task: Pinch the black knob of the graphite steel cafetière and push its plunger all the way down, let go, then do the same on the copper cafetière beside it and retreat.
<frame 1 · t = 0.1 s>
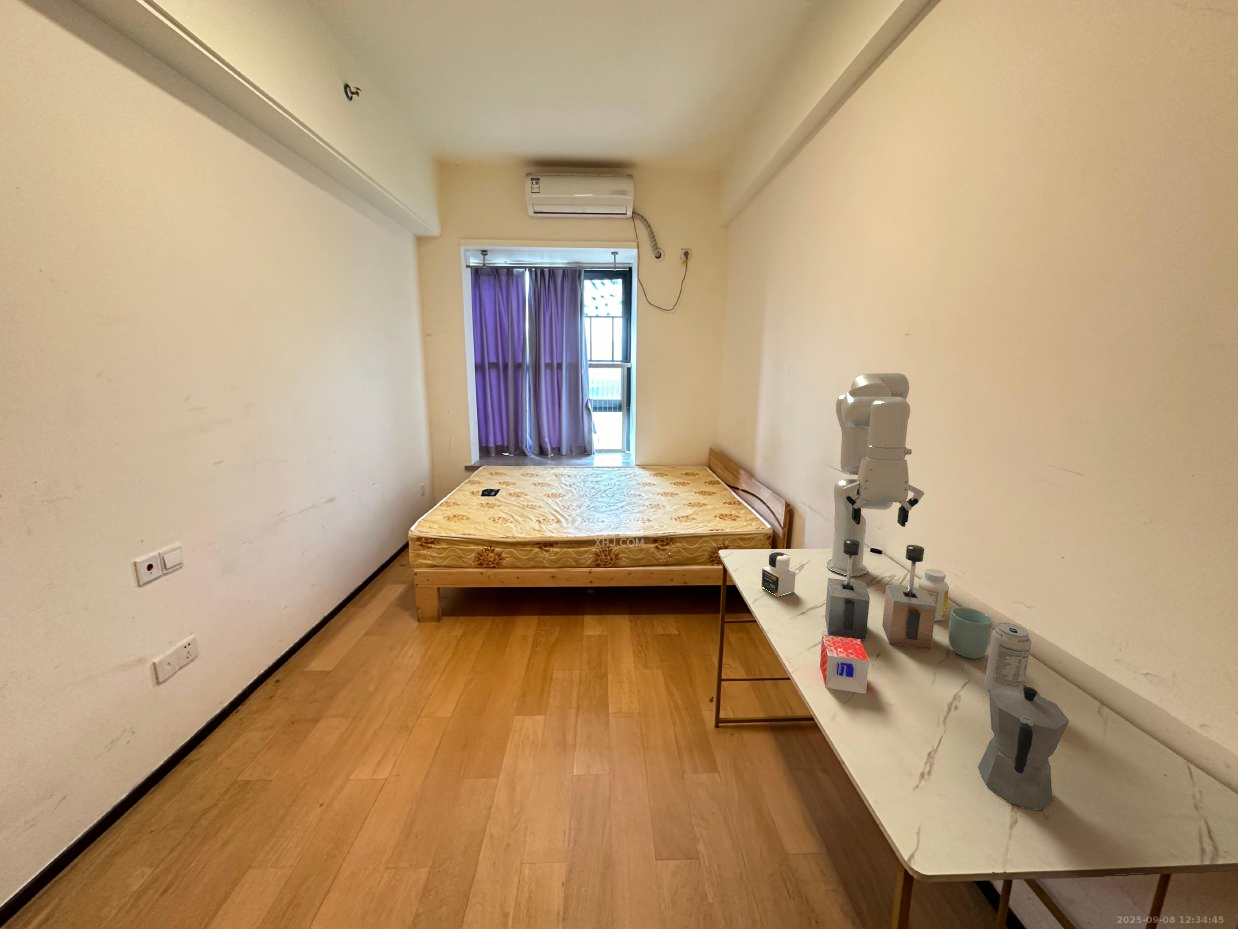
hand: (878, 523, 107), 31 cm above the table, fingers open, 9 cm apart
coffeepot: (1012, 790, 73), on the table
medicine bottle: (777, 591, 141), on the table
energy drink can: (1002, 694, 94), on the table
supplement bottle: (930, 616, 125), on the table
steel press 1: (844, 628, 119), on the table
plunger 1: (849, 570, 116), point 17 cm above the table, slide at 0.0 cm
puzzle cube: (841, 679, 100), on the table
cup: (965, 653, 108), on the table
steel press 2: (905, 637, 115), on the table
plunger 2: (912, 577, 111), point 17 cm above the table, slide at 0.0 cm
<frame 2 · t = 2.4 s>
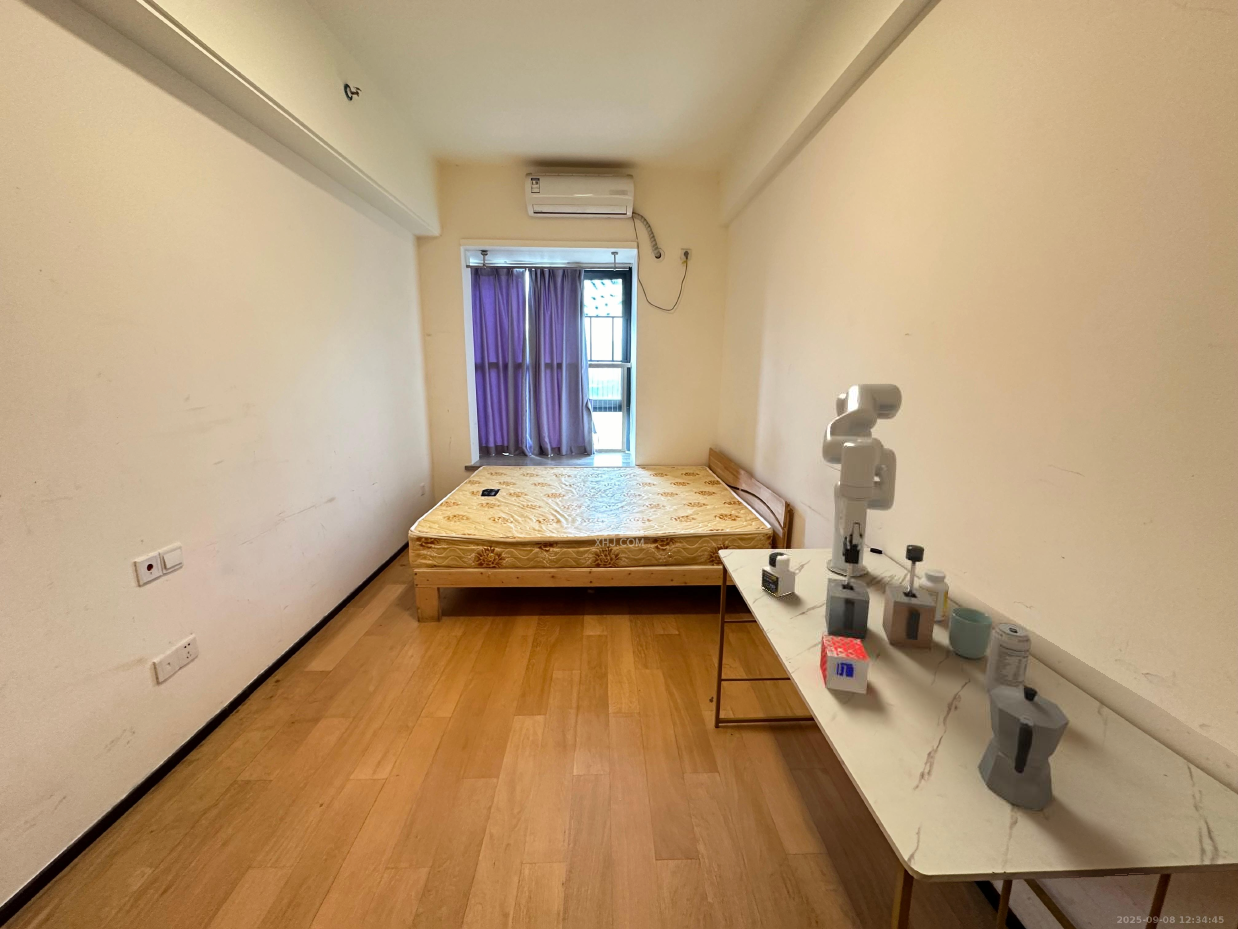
hand: (850, 559, 116), 20 cm above the table, fingers closed on plunger 1, 3 cm apart
plunger 1: (849, 570, 116), point 16 cm above the table, slide at 0.0 cm, touching gripper
everything else where it was.
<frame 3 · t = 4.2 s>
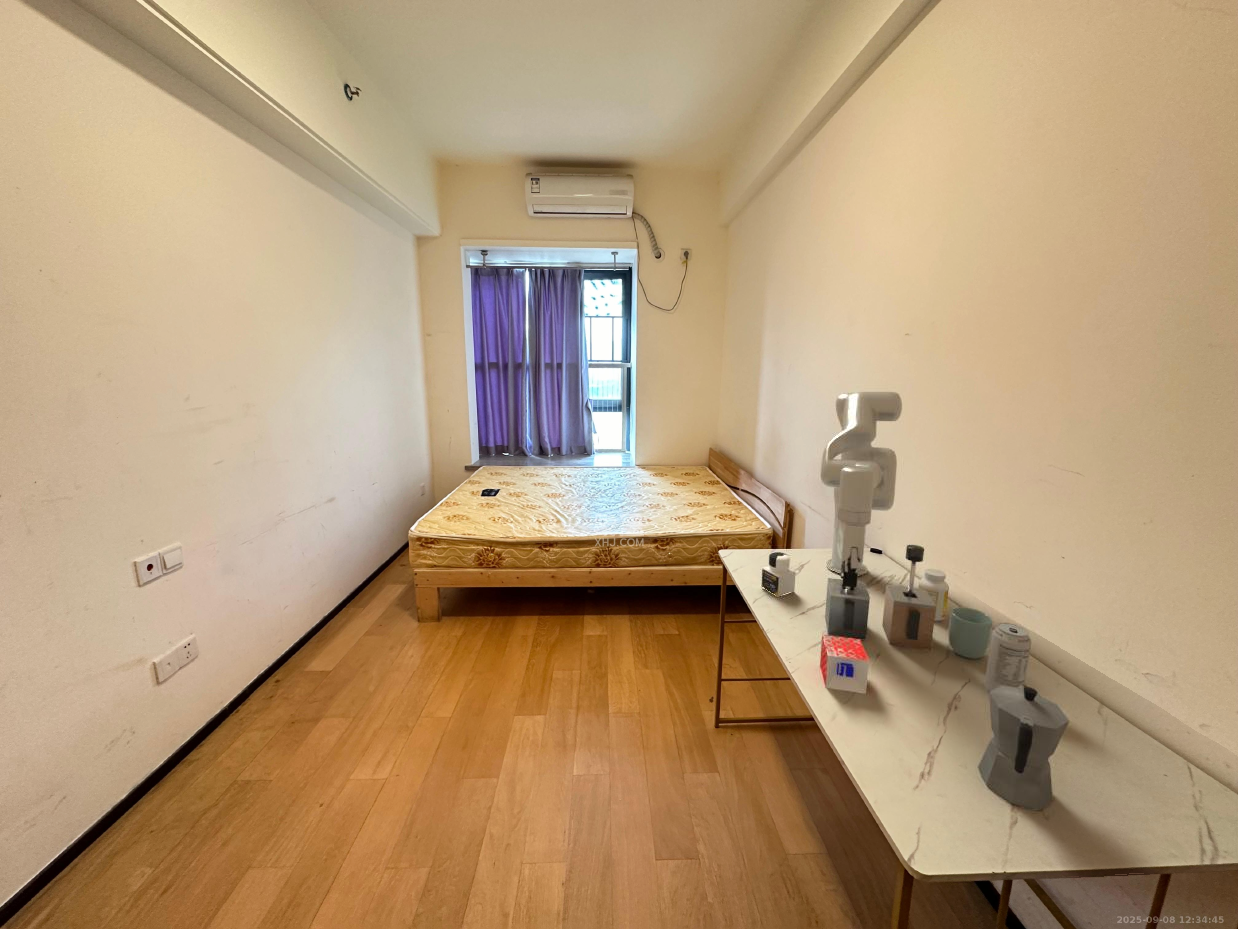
hand: (848, 581, 117), 13 cm above the table, fingers closed on plunger 1, 3 cm apart
plunger 1: (847, 593, 117), point 10 cm above the table, slide at 6.3 cm, touching gripper
everything else where it was.
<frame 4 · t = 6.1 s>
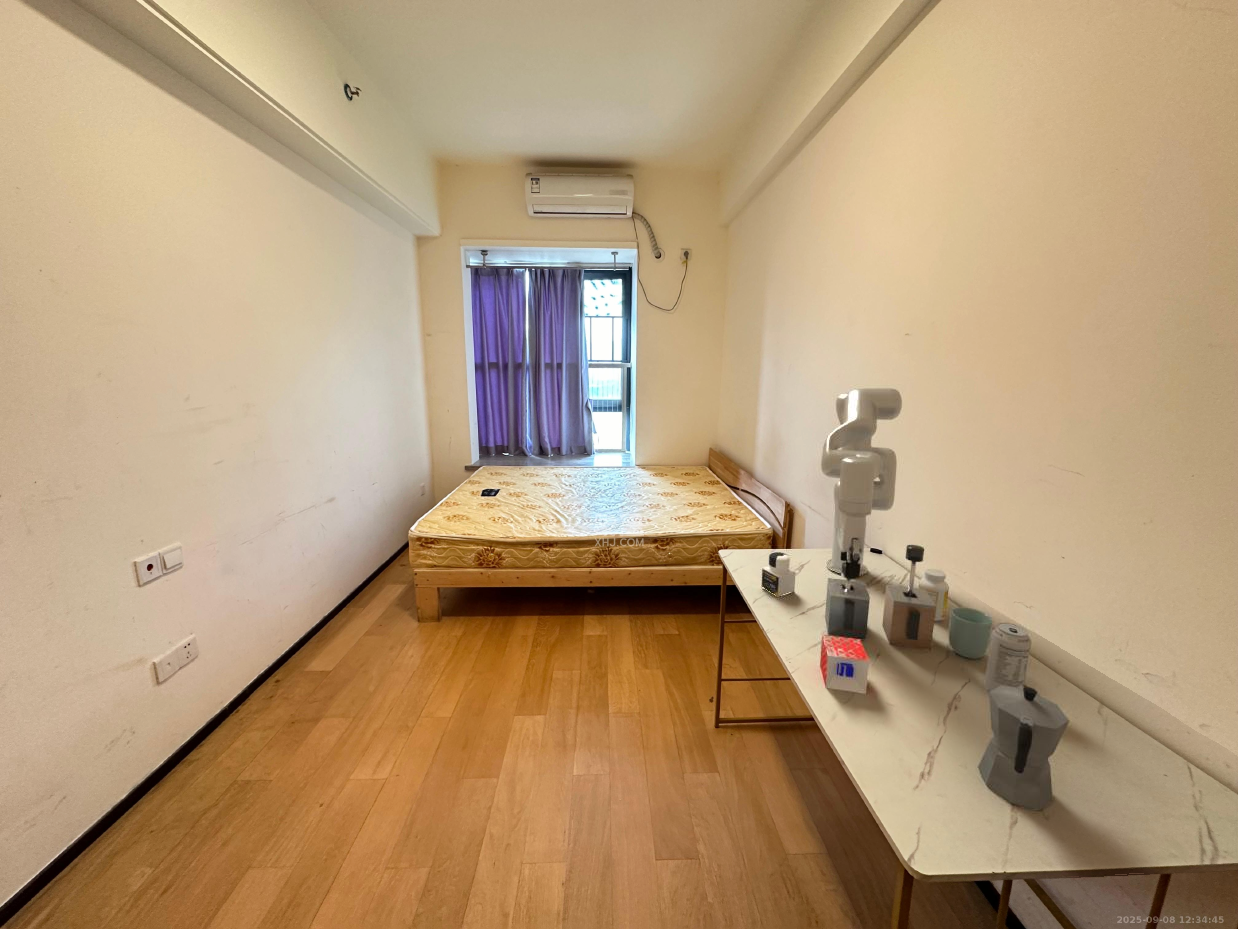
hand: (849, 568, 117), 17 cm above the table, fingers open, 9 cm apart
plunger 1: (847, 593, 117), point 10 cm above the table, slide at 6.4 cm
everything else where it was.
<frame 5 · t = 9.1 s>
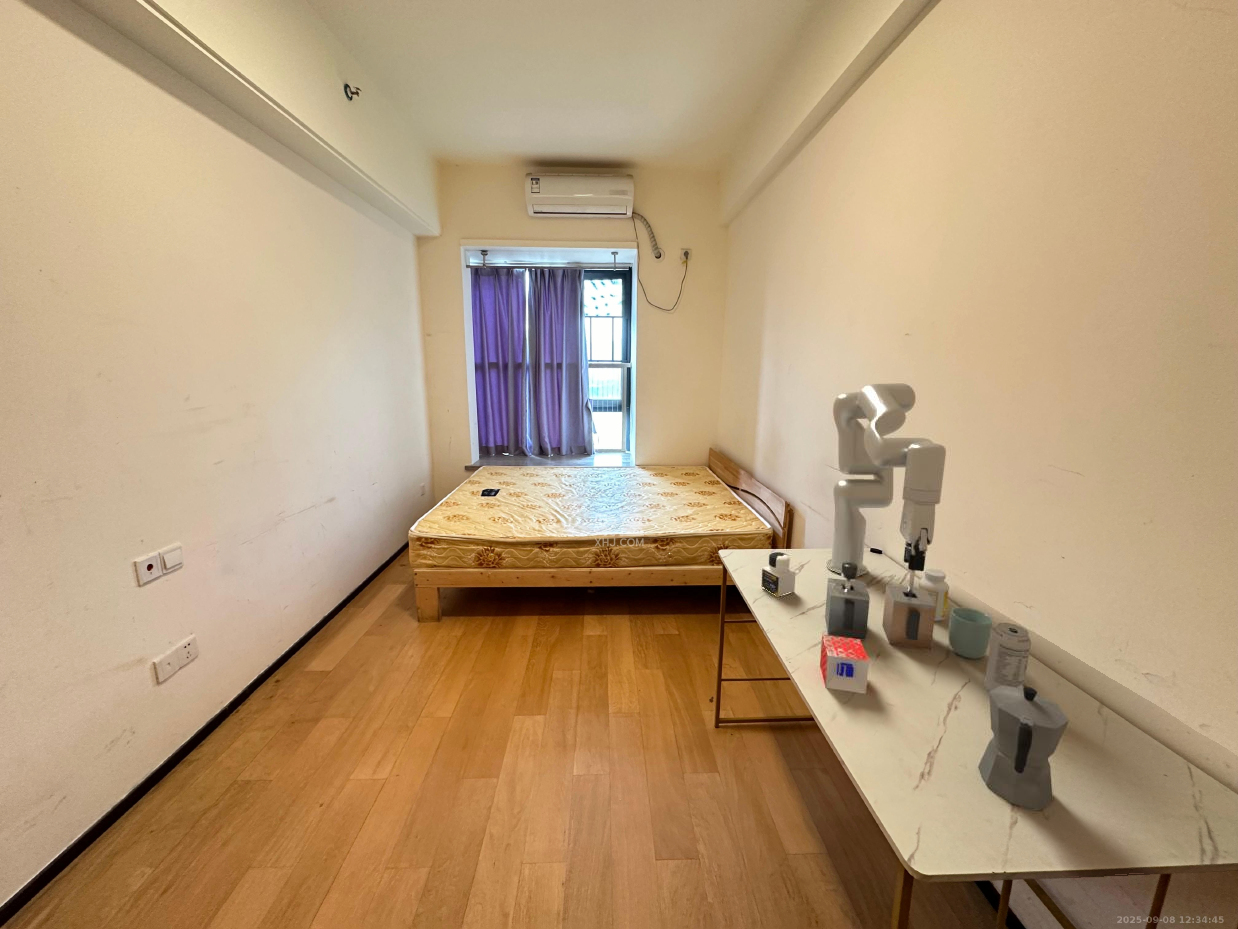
hand: (913, 565, 111), 20 cm above the table, fingers closed on plunger 2, 3 cm apart
plunger 2: (912, 577, 111), point 16 cm above the table, slide at 0.0 cm, touching gripper
everything else where it was.
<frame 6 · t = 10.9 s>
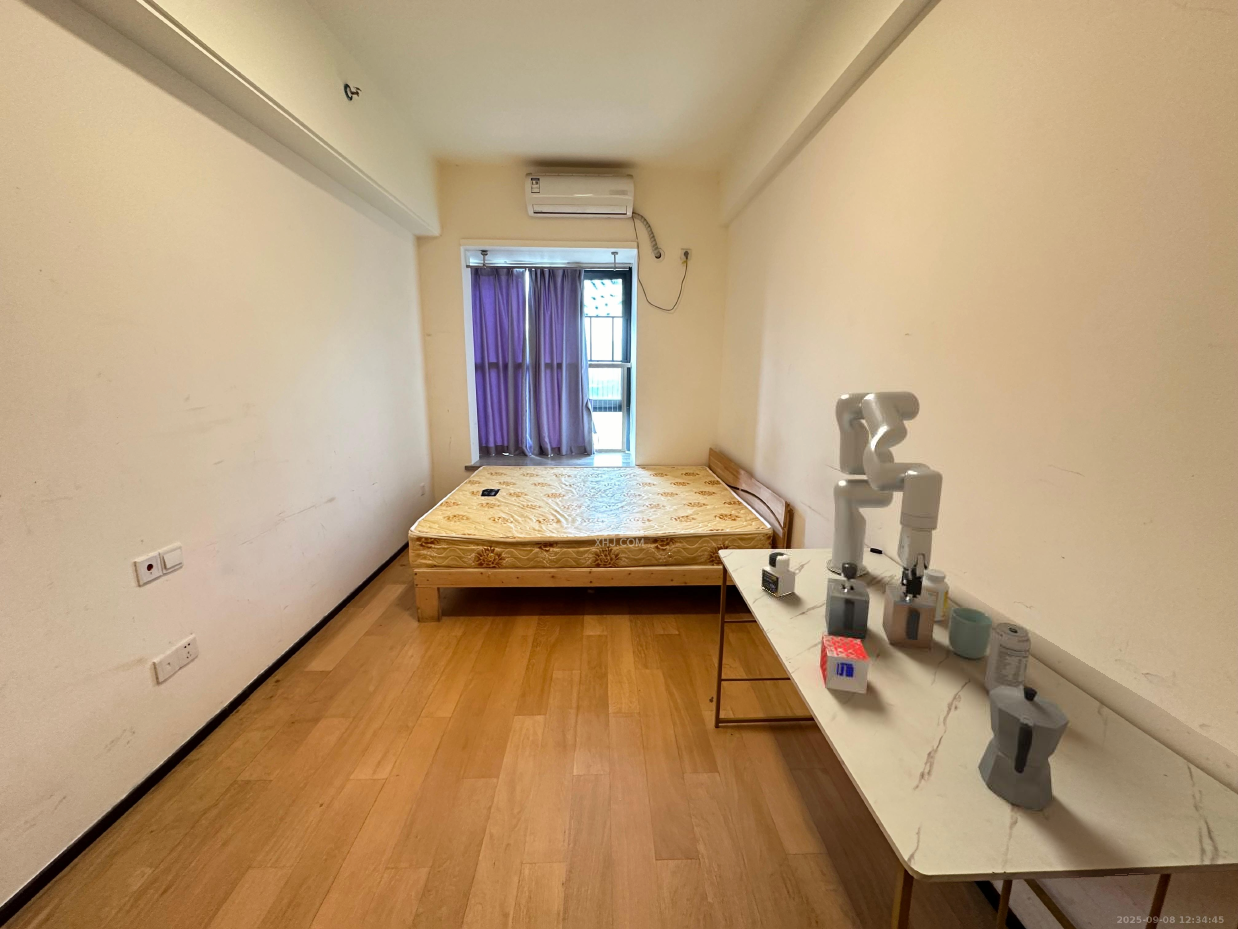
hand: (910, 589, 112), 13 cm above the table, fingers closed on plunger 2, 3 cm apart
plunger 2: (909, 601, 113), point 10 cm above the table, slide at 6.4 cm, touching gripper
everything else where it was.
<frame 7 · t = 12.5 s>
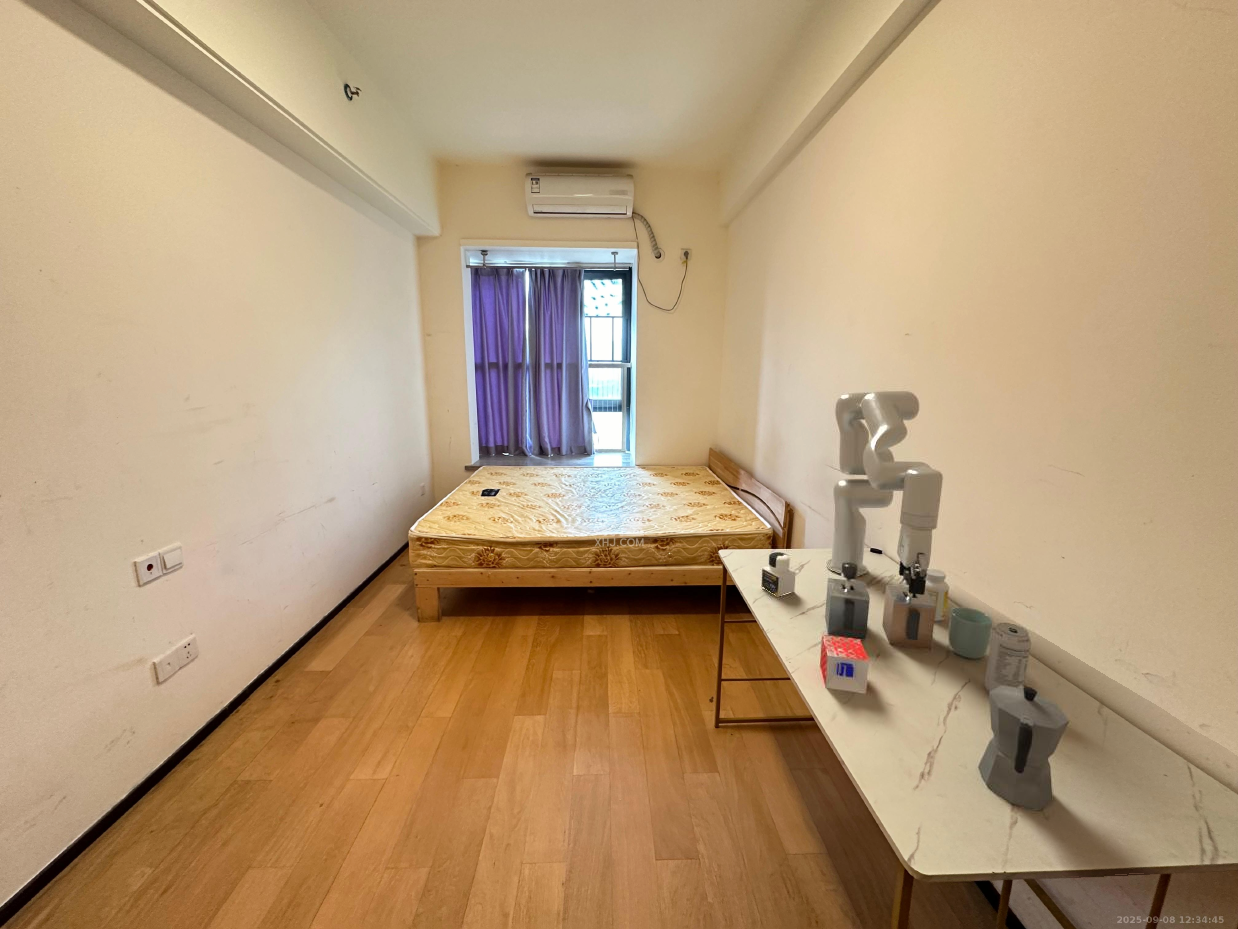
hand: (910, 584, 112), 15 cm above the table, fingers open, 9 cm apart
plunger 2: (909, 601, 113), point 10 cm above the table, slide at 6.4 cm
everything else where it was.
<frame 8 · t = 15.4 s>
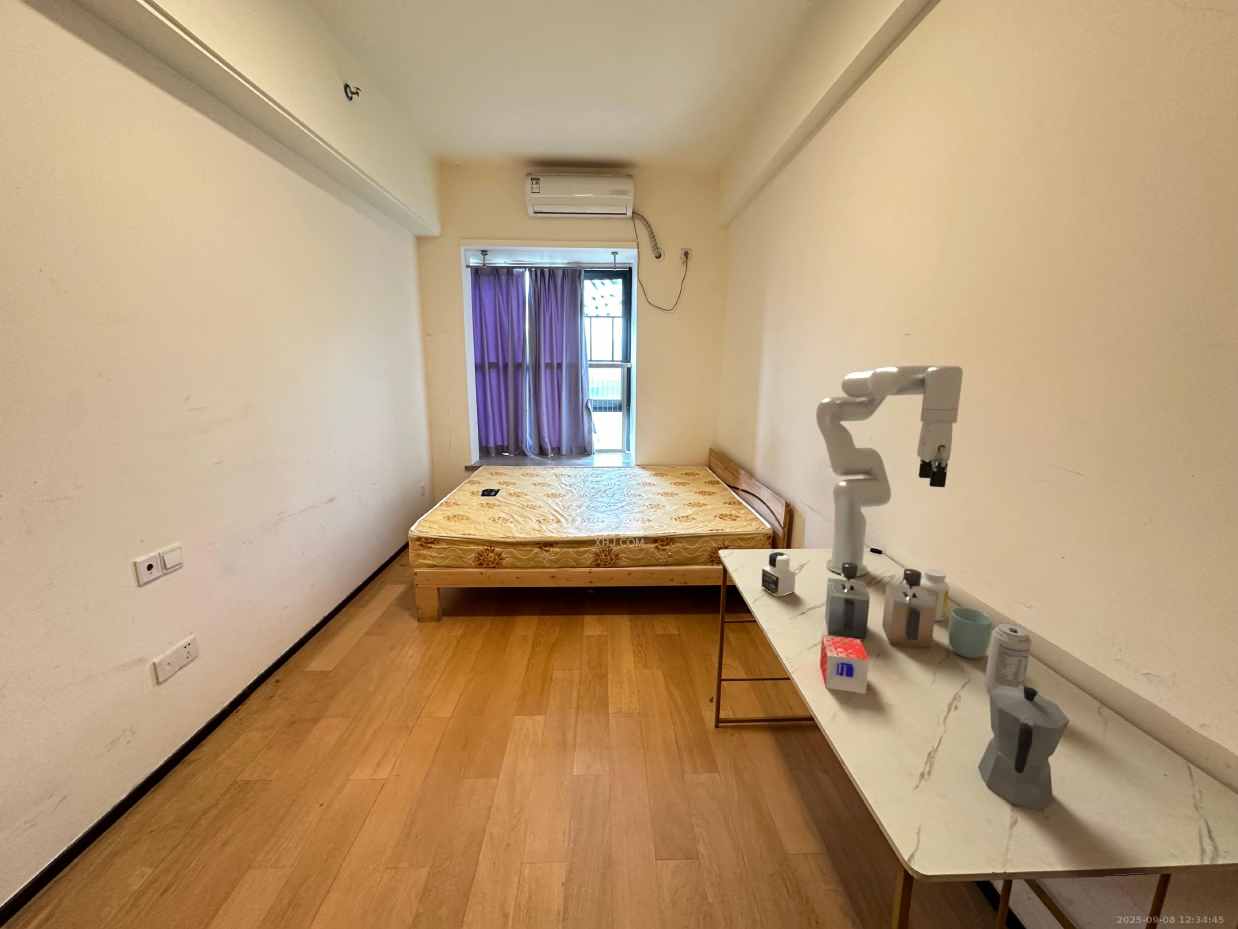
hand: (931, 482, 116), 38 cm above the table, fingers open, 9 cm apart
nothing on the table moved.
at the end: plunger 1 slide at 6.4 cm; plunger 2 slide at 6.4 cm; the gripper is holding nothing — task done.
